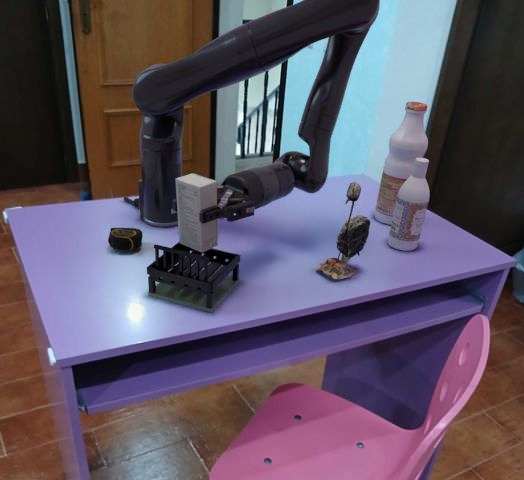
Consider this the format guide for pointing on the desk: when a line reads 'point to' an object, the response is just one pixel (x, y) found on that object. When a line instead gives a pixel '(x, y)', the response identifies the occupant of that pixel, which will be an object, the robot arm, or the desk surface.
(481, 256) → the desk surface
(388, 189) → the fruit juice
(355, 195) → the plant with pod
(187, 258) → the dish rack
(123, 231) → the tape measure
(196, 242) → the cosmetic box
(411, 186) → the bath foam
